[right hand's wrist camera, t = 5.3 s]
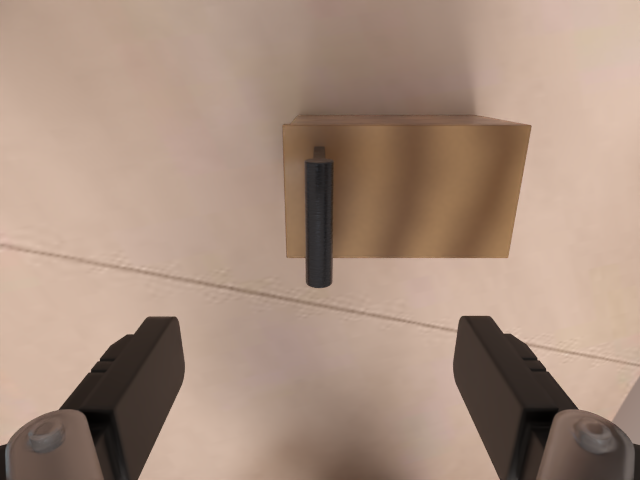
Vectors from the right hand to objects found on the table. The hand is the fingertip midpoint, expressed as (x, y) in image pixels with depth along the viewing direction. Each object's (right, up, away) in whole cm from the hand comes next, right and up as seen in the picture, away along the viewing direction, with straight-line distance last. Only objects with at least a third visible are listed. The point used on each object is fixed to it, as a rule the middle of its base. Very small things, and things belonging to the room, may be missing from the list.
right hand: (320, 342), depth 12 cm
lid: (+6, +6, +17) cm, 19 cm away
